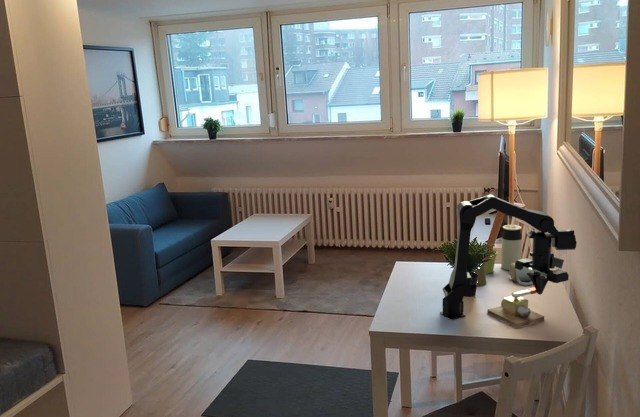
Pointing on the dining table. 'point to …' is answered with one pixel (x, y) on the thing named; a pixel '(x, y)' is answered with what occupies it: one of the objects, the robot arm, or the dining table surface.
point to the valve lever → (524, 292)
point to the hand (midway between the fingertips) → (539, 294)
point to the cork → (481, 275)
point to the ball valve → (516, 306)
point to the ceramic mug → (519, 275)
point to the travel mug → (511, 245)
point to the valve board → (515, 321)
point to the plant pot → (490, 264)
